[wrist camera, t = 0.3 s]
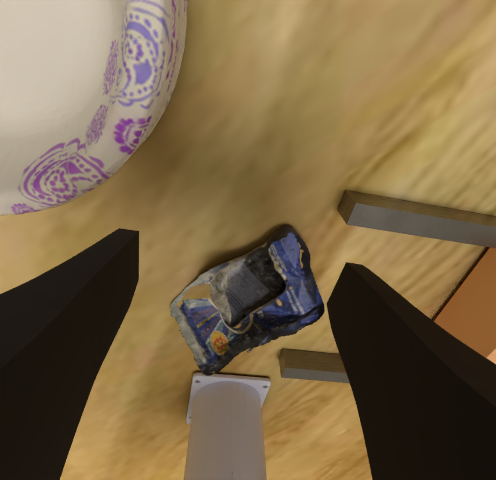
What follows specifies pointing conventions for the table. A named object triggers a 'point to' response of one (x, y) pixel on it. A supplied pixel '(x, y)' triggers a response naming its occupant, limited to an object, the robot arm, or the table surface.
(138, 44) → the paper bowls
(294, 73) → the table surface
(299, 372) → the rail track
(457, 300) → the plate
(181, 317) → the snack package
